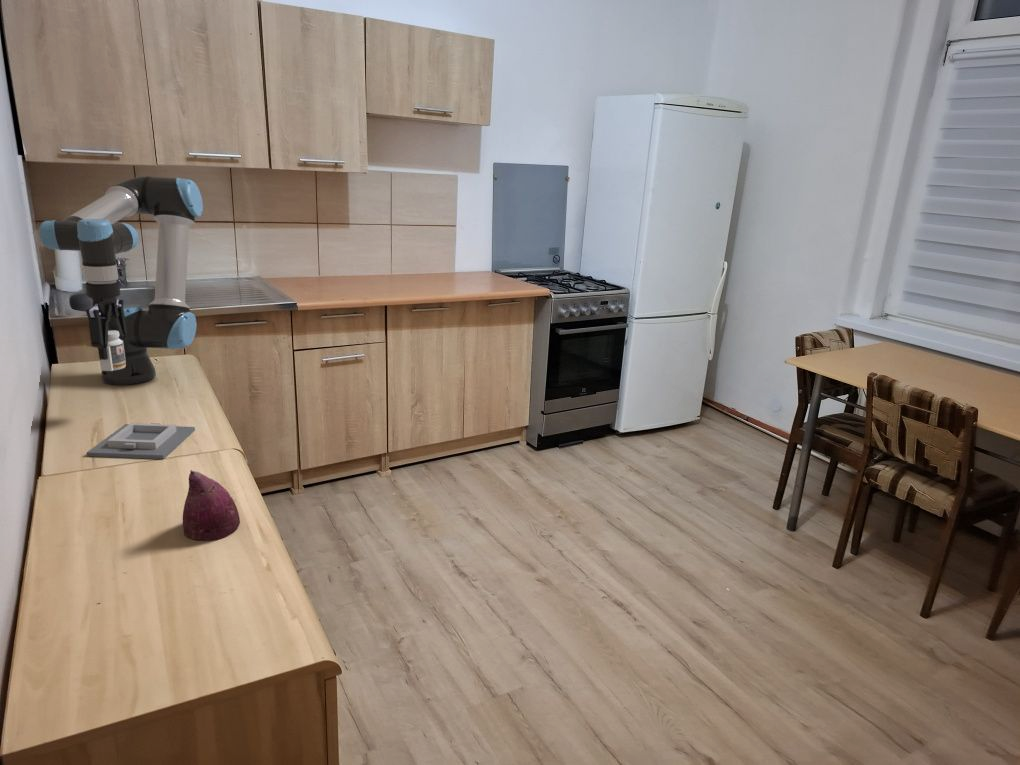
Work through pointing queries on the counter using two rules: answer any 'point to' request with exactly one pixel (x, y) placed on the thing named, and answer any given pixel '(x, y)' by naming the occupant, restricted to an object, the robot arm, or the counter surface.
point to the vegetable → (208, 510)
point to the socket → (142, 441)
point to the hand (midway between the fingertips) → (113, 366)
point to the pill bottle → (116, 350)
